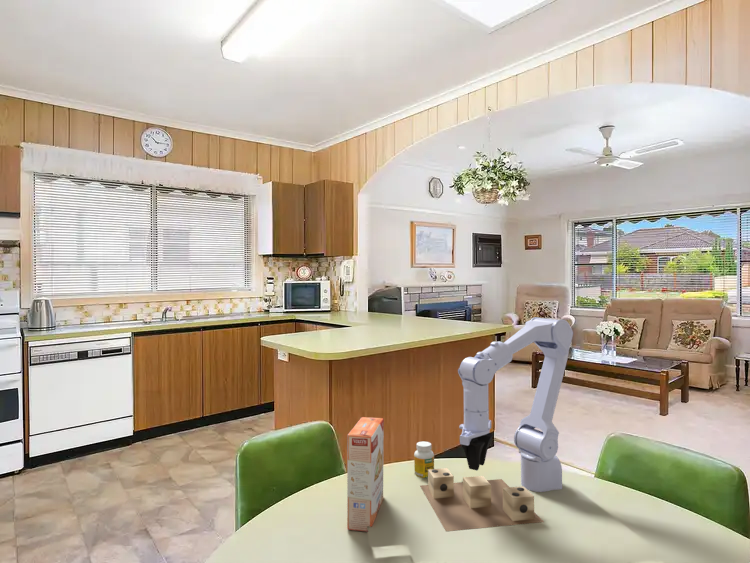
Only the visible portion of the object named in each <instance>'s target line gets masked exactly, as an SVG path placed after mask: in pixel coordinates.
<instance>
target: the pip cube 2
mask: <svg viewBox="0 0 750 563" xmlns="http://www.w3.org/2000/svg"><path fill="white" fill-rule="evenodd" d="M503 510H504V512H505V513H506V514H507V515H508V516H509V517H510V518H511V520H512V521H519V520H529V519H534V512H535V495H533V493H531V492H530V490H528V489H526V488H525V487H524V486H522V485H521V486H511V487H510V486H509V488H503Z"/></svg>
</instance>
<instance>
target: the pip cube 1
mask: <svg viewBox="0 0 750 563" xmlns="http://www.w3.org/2000/svg"><path fill="white" fill-rule="evenodd" d="M454 478H455V477H454V475H453V474H452V473H451V470H449V468H448V467H443V468H434V469H428V478H427V485H428V490H429V492H430V493H431V495H432V497H433V498H434V499H435V498H447V497H454V483H455V481H454V480H455V479H454Z"/></svg>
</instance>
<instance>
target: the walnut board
mask: <svg viewBox="0 0 750 563" xmlns="http://www.w3.org/2000/svg"><path fill="white" fill-rule="evenodd" d="M486 480H487V481H488V482H489V483H490V484H491V506H490V507H479V508H470V507H469V506H468V504H467V503H466V501H465V500H464V499H463V481H460V482H454V497H447V498H435V499H434V498H433V497H432V495H431V493H430V492H429V490H428V484H422V485H419V486H420V489H421V490H422V492H423V494H424V496H425V497H426V499H427V500H428V502H429V504H430V506H431V508H432V510H433V512H434V513H435V515H436V517H437V519H438V520H439V522H440V524H441V525H442V528H443V529H444V531H445V532H453V531H464V530H466V531H467V530H476V529H487V528H497V527H507V526H519V525H520V526H521V525H529V524H539V523H545V521H544V520H543V519H542V518H541V517H540V516H539V515H538V514H537V513H536V512H535V511H534V519H529V520H519V521H512V520H511V518H510V517H509V516H508V515H507V514H506V513H505V512H504V510H503V488H509V487H510V486H509V485H508V484H507V483H506V482H505V481H504V480H503V479H502V478H501V479H500V478H498V479H497V478H496V479H486Z"/></svg>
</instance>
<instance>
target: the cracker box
mask: <svg viewBox="0 0 750 563" xmlns="http://www.w3.org/2000/svg"><path fill="white" fill-rule="evenodd" d="M384 423H385V421H384V418H383V417H369V416H368V417H365V416H362V417H360V418H359V420H358V421H357V423H356V424H355V425H354V426H353V428H352V429H351V430H350V431H349V433H348V434H347V445H346V446H347V466H346V467H347V469H346V470H347V476H346V477H347V480H346V481H347V482H346V484H347V485H346V486H347V490H346V491H347V492H346V493H347V494H346V496H347V502H346V503H347V504H346V505H347V506H346V508H347V513H346V515H347V516H346V517H347V518H346V520H347V522H346V524H347V525H346V526H347V527H346V528H347V530H348V531H357V532H366V533H367V532H369V530H368V527H373V525H374V522H375V520H376V518H377V516H378V512H379V510H380V508H381V505H382V503H383V501H384V500H383V499H384V435H385V434H384Z"/></svg>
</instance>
